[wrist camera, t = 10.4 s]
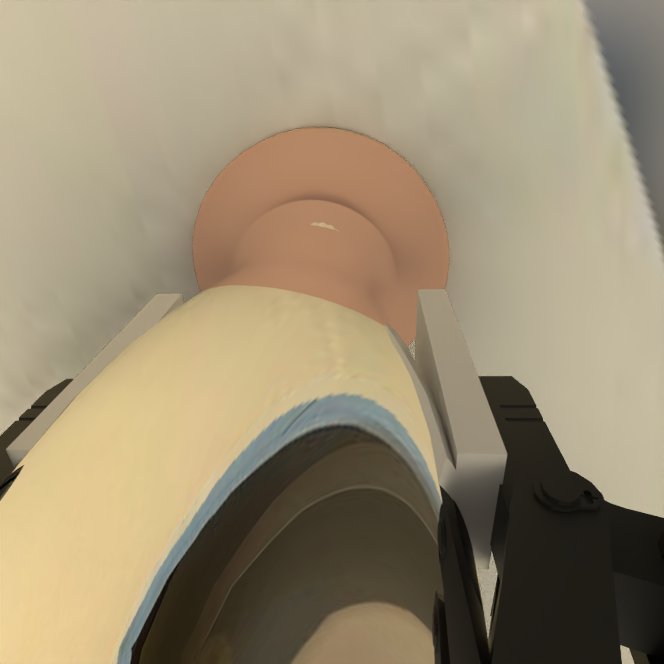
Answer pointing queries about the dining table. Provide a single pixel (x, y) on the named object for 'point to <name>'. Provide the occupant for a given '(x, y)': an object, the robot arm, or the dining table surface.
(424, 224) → the pinkish-brown smooth disc
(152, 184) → the dining table surface
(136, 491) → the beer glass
